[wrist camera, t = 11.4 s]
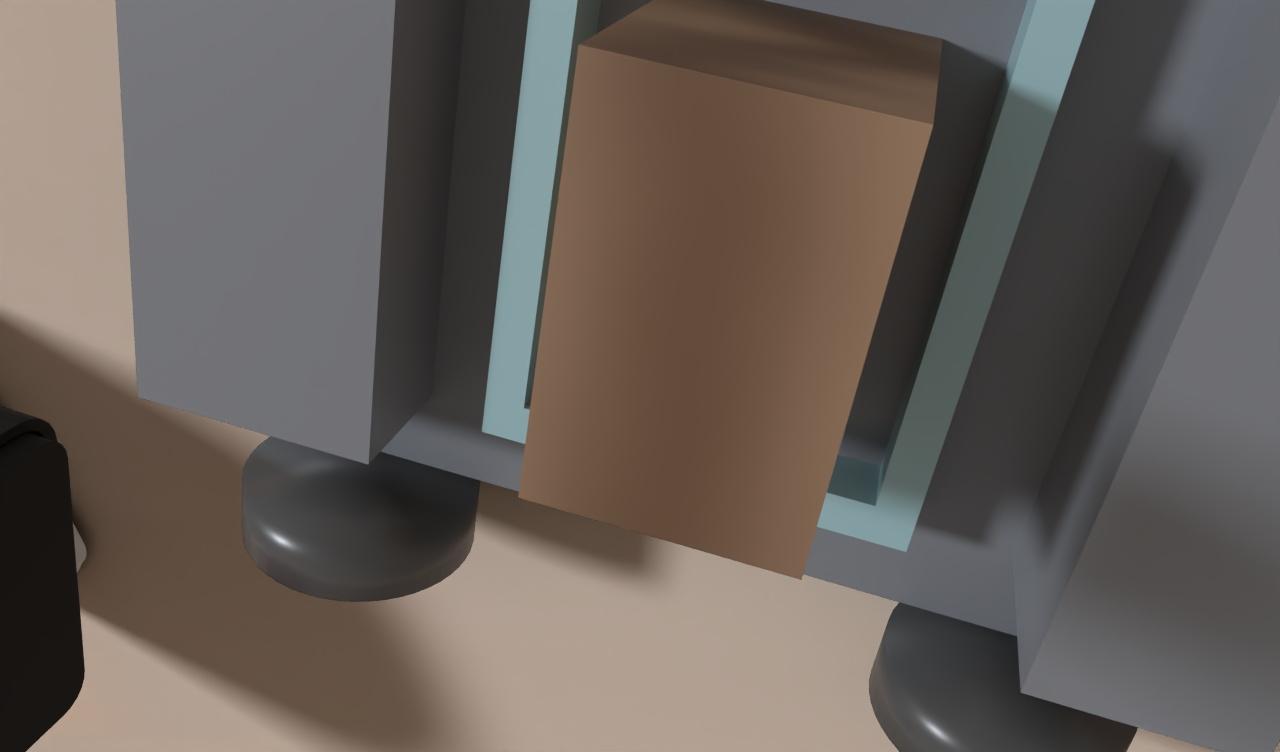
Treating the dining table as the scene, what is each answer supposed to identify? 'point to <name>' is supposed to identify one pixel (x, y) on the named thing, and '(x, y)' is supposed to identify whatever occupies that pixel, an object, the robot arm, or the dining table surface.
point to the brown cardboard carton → (721, 267)
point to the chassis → (895, 362)
